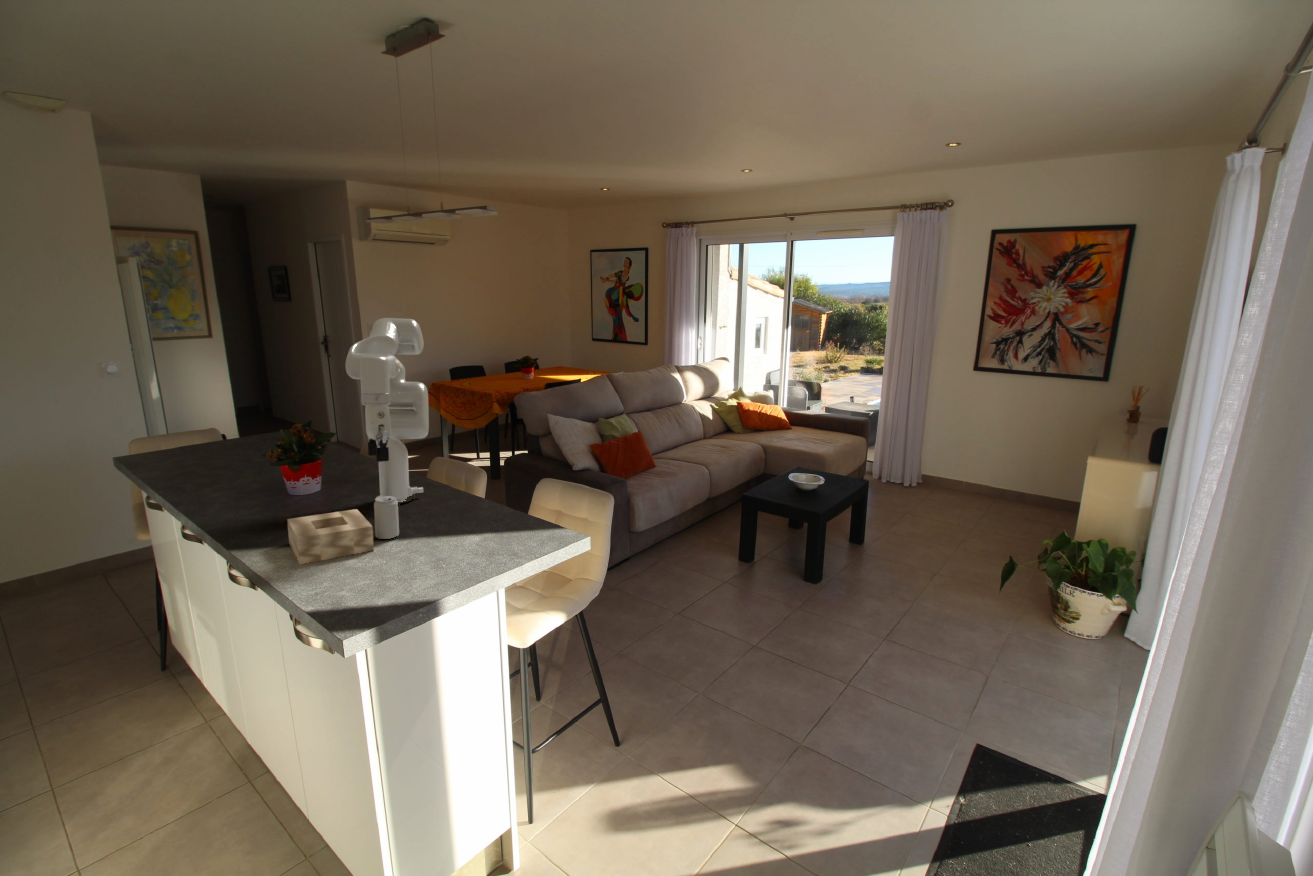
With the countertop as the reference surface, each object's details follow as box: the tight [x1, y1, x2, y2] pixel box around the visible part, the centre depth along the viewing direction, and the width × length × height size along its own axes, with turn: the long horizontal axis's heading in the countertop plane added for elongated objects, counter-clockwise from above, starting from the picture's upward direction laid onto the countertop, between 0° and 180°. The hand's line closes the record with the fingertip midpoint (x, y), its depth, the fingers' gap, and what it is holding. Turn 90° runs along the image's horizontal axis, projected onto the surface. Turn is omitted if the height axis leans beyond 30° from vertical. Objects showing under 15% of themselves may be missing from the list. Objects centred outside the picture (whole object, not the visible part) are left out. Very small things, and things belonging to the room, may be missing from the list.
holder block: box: [286, 508, 374, 565], centre depth 170 cm, size 18×18×7 cm
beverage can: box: [373, 496, 400, 540], centre depth 178 cm, size 6×6×12 cm
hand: (378, 458), depth 176 cm, fingers open, 9 cm apart
